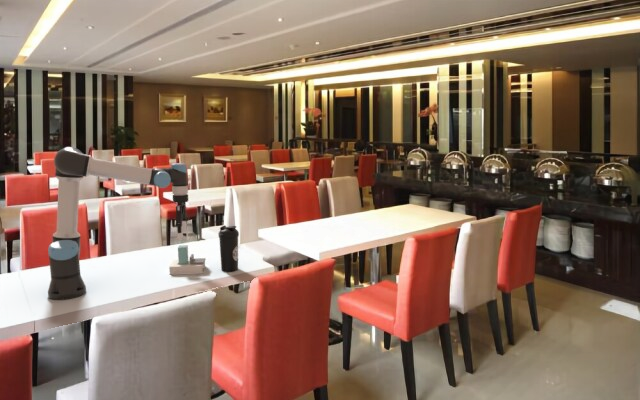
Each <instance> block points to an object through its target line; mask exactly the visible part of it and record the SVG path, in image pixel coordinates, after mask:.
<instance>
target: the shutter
mask: <svg viewBox="0 0 640 400" xmlns="http://www.w3.org/2000/svg"><path fill="white" fill-rule="evenodd" d="M189 259H190V264H204V262H205V263H206V257H203V258H199V257H198V258H197V257H196V258H195V254H193V253H192V254H190V256H189Z"/></svg>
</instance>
